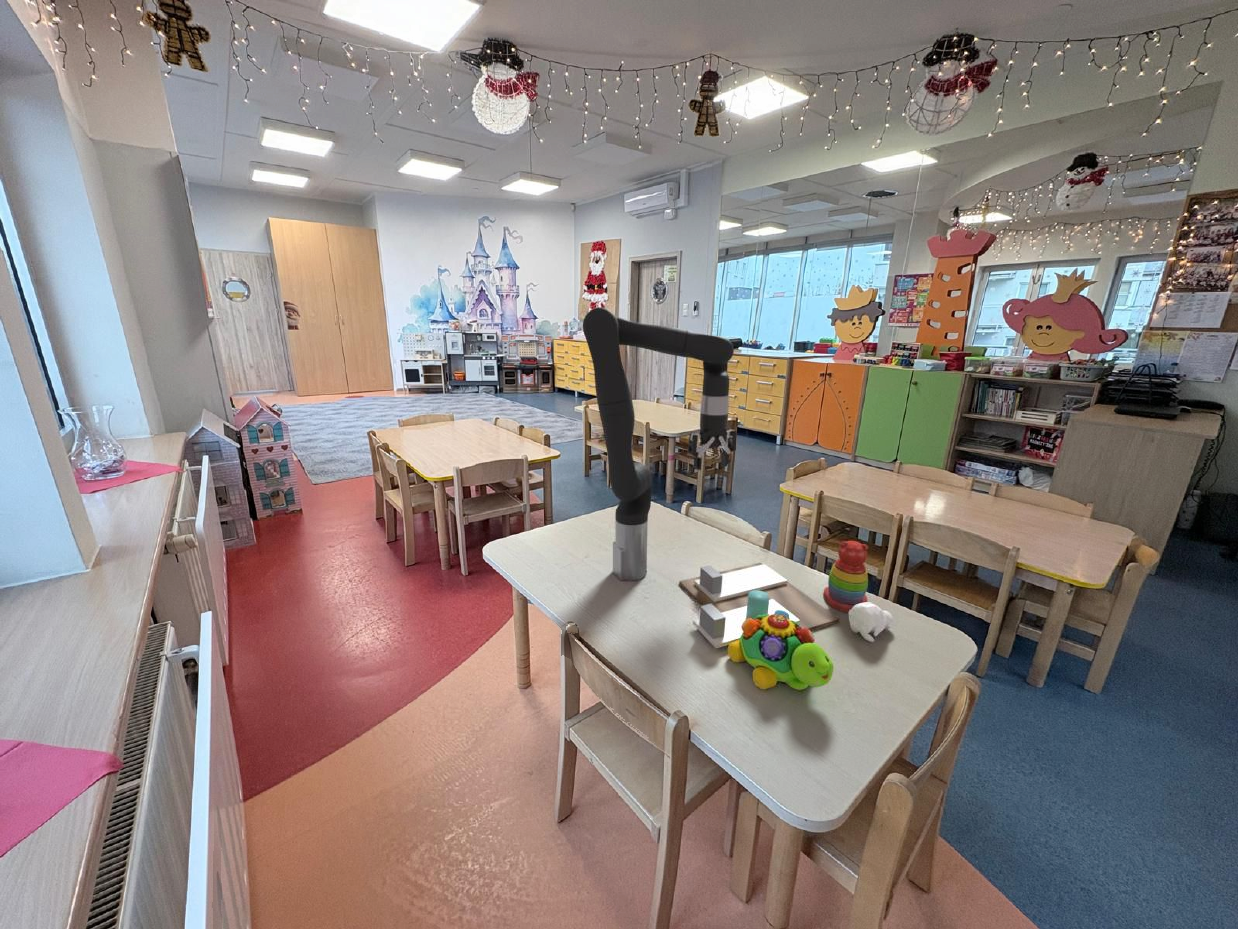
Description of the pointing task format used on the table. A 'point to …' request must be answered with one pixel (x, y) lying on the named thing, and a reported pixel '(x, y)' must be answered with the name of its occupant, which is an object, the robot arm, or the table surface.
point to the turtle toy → (781, 652)
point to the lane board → (784, 594)
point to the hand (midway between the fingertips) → (711, 467)
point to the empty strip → (737, 581)
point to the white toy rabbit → (869, 619)
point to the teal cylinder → (757, 604)
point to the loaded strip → (728, 623)
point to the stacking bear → (848, 577)
